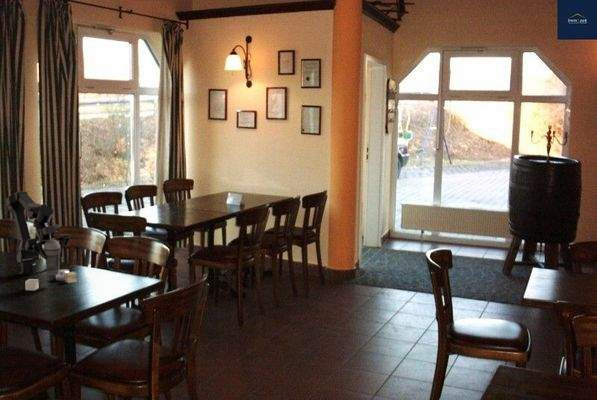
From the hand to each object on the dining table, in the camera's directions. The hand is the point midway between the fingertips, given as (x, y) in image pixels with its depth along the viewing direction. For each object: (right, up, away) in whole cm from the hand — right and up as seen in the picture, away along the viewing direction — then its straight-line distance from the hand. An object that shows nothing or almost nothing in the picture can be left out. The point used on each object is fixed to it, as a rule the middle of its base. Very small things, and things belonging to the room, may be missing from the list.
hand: (53, 257), depth 285 cm
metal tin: (-2, -11, +15) cm, 19 cm away
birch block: (+4, -12, +11) cm, 17 cm away
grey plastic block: (-9, -14, -1) cm, 16 cm away
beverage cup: (-1, -8, +2) cm, 8 cm away
